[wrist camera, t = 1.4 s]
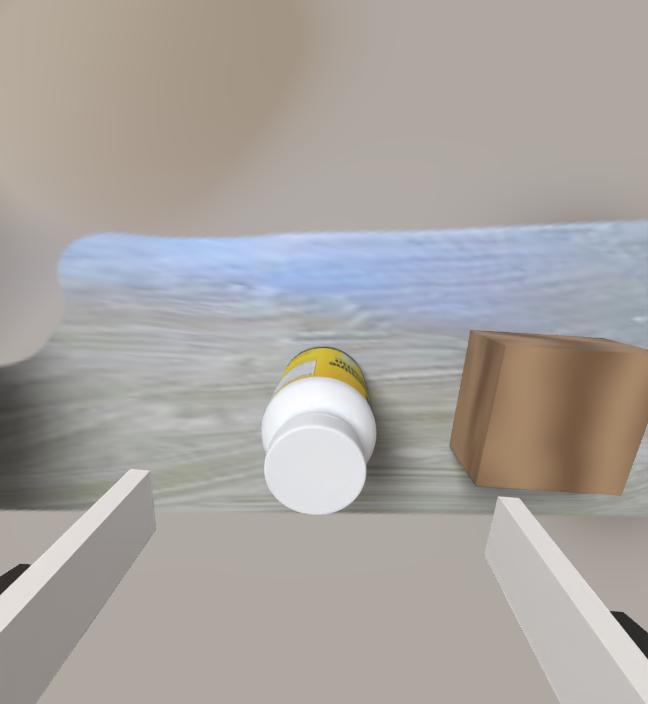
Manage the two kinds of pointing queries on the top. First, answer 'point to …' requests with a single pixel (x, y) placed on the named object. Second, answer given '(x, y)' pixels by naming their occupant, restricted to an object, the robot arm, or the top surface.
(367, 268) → the top surface
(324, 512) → the pill bottle
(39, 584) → the robot arm
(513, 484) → the walnut block
